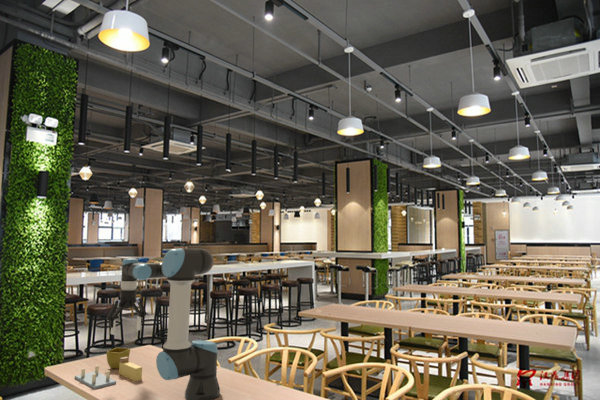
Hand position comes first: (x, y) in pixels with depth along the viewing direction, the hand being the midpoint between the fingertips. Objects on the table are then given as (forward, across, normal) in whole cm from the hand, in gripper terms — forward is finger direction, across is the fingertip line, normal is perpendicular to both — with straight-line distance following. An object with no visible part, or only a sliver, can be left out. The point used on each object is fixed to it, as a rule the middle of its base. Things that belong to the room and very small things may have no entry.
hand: (125, 332), depth 207 cm
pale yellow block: (+22, -2, +2) cm, 22 cm away
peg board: (+22, +12, -4) cm, 25 cm away
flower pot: (+22, -6, -17) cm, 29 cm away
